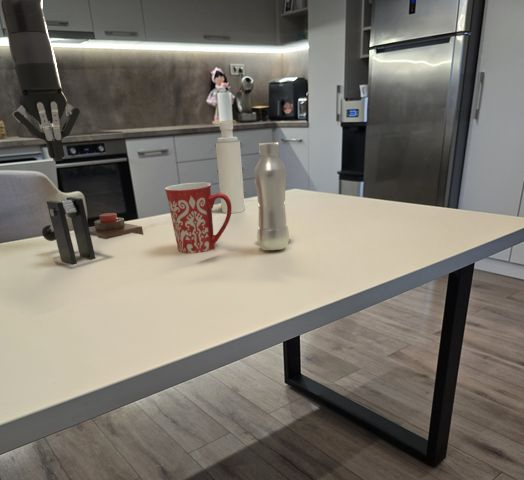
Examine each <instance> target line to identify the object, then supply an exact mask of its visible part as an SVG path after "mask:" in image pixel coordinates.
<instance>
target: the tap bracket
mask: <svg viewBox="0 0 524 480" xmlns="http://www.w3.org/2000/svg"><path fill="white" fill-rule="evenodd" d="M67 200H72V202H73V204H74V206H75V208H76V210H77V212H76V213H75V215H74V216H73V217H72V218H70V219H71V224H72V229H73V233H74V236H75V240H76V245H77V249H78V253H79V257H80V258H83V259H87V260H91V261H92V260H95V259H96V255H95V249H94V245H93V241H92V235H90V231H89V227H90V226H89V222H88V218H87V214H86V208H85V204H84V199H83V198H82V197H74V196H68V197H66V201H67ZM46 206H47V210H48V215H49V217H50V222H51V225H52V226H53V230H54V234H55V238H56V240H55V241H56V246H57V249H58V252H59V258H60V261H61V262H62V263H65V264H68V265H71V266H74V265H77V264H78V261H77V257H76V253H75V249H74V245H73V244H74V243H73V240H72V237H71V233H70V227H69V224H68V220H67V219H68V218H67V219H66V215H65V211H64V207H63V203H62V202H61V201H58V200H46Z"/></svg>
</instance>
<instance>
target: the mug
mask: <svg viewBox="0 0 524 480" xmlns="http://www.w3.org/2000/svg"><path fill="white" fill-rule="evenodd" d="M211 188H212V183H211V182H203V181H201V182H200V181H199V182H185V183H179V184H173V185H168V186H165V187H164V192H165V194H166V198H167V202H168V203H167V204H168V207H169V208H168V209H169V213H170V219H171V222H172V228H173V233H174V237H175V241H176V246H177V247H176V248H177V251H178V252H179V253H182V254H199V253H205V252H206V253H207V252H209V251H212V250H214V249H215V245H216V243H217V242H218V241H219V240H220V238H221V236H222V234H223V233H224V231H225V230H226V228H227V226H228V224H229V222H230V219H231V216H232V213H231V202H230V199H229V198H228V196H227V195H225V194H223V193H220V192H217V193H216V192H215V193H214V194H212V191H211ZM221 198H222V199H224V200H225V202H226V204H227V213H226V216H225V219H224V221H223V223H222V225H221V227H220V229H219V230H218V232H217V233H216V234H214V223H213V208H214V205H215V202H216V200H217V199H221Z"/></svg>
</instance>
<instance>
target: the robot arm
mask: <svg viewBox="0 0 524 480" xmlns="http://www.w3.org/2000/svg"><path fill="white" fill-rule="evenodd" d="M0 9H1V14H2V18H3V23H4V27H5V30H6V35H7V39H8V46H9V51H10V55H11V61H12V64H13V68H14V72H15V76H16V80H17V83H18V87H19V92H20V100H19V103H20V106H19V107H18V108H17V109H16V110H15V111H13V112H12V114H11V116H12V118H14V119H15V121H17V122H18V123H19V124H20V125H21V126H22V127H23V128H24V129H25V130H26V131H27V132H29V133H30V135H32V136H33V137H34V138H35V139H39V140H43V141H44V142H45V146H46V150H47V153H48V157H49V158H50V159H52V161H54V162H59V161H60V162H61V161H63V158H65V150H64V146H63V139H65V138H66V137H69V136H70V134H71V132H72V130H73V128H74V126H75V124H76V121H77V119H78V117H79V115H80V113H81V110H80V109H79V108H78V107H74V106H73V105H71V104H69V103H68V100H67V98H66V96H65V95H64V93H63V89H62V85H61V80H60V74H59V71H58V67H57V59H56V55H55V53H54V52H55V51H54V50H53V49H54V48H53V46H52V43H51V40H50V36H49V32H48V27H47V23H46V18H45V14H44V10H43V0H0ZM64 112H65V115H66V119H65V121H64V123H63V125H62V128H61V124H60V120H61V119H62V118H63V117H62V116H63V115H64ZM27 113H28V114H27ZM28 115H30V117H32V119H33V120H35V122H37V123H38V126H39V128H37V127H36V126H35V125H34V124H32V122H30V121H29V119H28V118H29V116H28ZM39 129H40V130H39Z"/></svg>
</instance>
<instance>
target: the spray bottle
mask: <svg viewBox="0 0 524 480" xmlns="http://www.w3.org/2000/svg"><path fill="white" fill-rule="evenodd" d="M218 123H219V130H220V135H221V137H217V139H216V140H215V153H216V163H217V175H218V185H219V193H223V194H225V195H227V196H228V198H229V199H230V202H231V214H240V213H244V212H245V211H246V208H245V207H246V206H245V205H246V204H245V192H244V191H245V190H244V179H243V165H242V153H241V151H242V150H241V139H238V136H234V134H233V130H234V122H233V120H229V121H227V120H226V121H218ZM220 208H221V213H223V214H227V204H226V202H225V200H224V199H222V198H220Z"/></svg>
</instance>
